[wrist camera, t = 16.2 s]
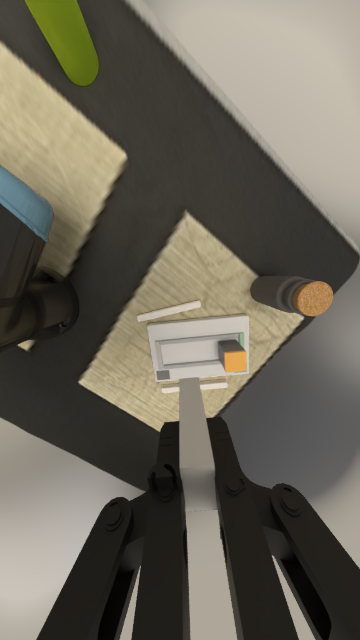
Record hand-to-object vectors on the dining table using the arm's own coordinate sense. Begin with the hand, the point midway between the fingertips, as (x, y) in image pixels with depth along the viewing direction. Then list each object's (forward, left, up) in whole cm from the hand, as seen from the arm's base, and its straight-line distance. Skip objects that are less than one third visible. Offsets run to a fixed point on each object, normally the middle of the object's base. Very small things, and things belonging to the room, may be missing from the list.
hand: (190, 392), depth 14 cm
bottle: (+18, +4, -27) cm, 32 cm away
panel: (+3, -8, -26) cm, 28 cm away
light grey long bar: (+1, -18, -26) cm, 32 cm away
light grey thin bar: (-3, +2, -26) cm, 27 cm away
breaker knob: (+9, -8, -24) cm, 27 cm away
